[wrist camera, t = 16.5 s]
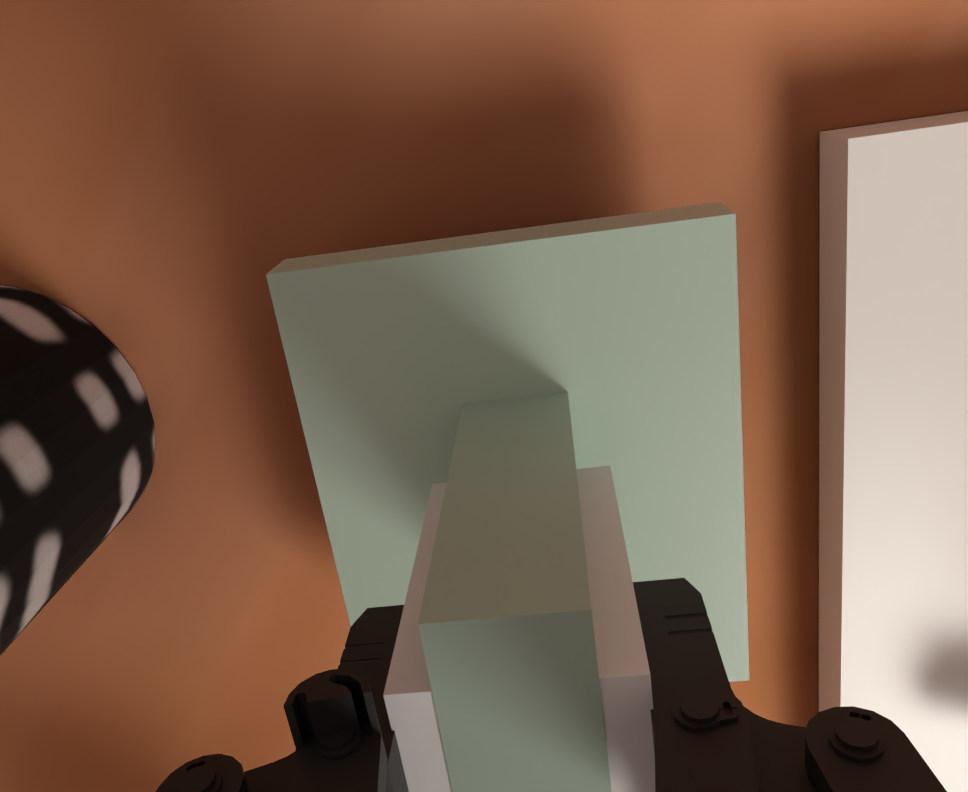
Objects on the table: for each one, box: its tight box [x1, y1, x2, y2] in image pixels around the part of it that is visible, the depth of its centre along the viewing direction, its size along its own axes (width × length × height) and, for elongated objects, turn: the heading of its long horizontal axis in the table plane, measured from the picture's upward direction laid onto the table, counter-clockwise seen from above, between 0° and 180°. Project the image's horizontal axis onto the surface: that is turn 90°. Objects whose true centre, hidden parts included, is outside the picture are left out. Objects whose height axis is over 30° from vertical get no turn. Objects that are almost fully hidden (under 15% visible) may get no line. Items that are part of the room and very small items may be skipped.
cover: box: [266, 202, 749, 792], centre depth 17 cm, size 12×10×10 cm
